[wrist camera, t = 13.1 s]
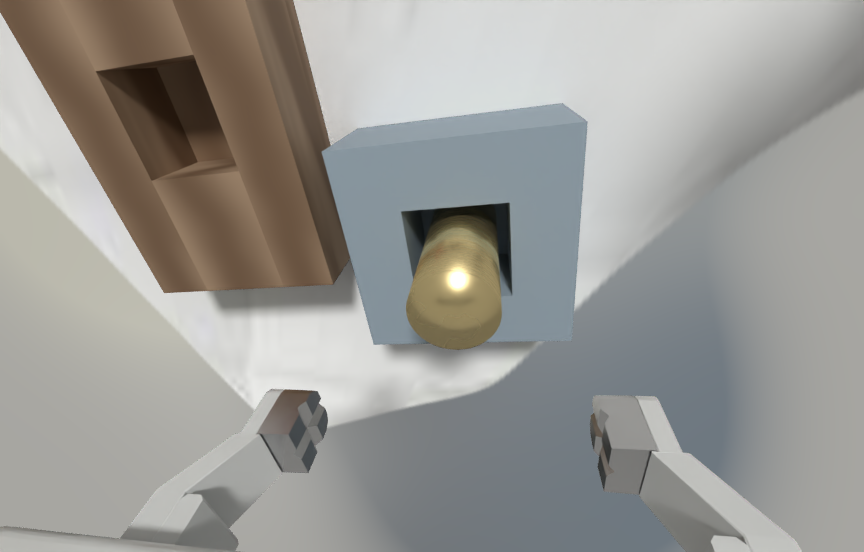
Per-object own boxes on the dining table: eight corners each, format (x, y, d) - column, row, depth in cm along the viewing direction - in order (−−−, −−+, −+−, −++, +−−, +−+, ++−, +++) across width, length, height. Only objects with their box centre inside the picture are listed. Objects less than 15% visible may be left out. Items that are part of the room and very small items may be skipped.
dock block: (562, 103, 21) (587, 121, 16) (555, 285, 27) (571, 340, 22) (357, 128, 23) (321, 151, 18) (393, 292, 29) (373, 344, 24)
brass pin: (494, 186, 23) (499, 269, 14) (497, 245, 25) (503, 348, 16) (429, 191, 24) (398, 274, 15) (437, 248, 26) (413, 350, 17)
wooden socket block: (256, -141, 17) (183, -201, 13) (356, 247, 27) (333, 284, 23) (45, -86, 19) (-78, -122, 15) (210, 257, 29) (164, 292, 25)
